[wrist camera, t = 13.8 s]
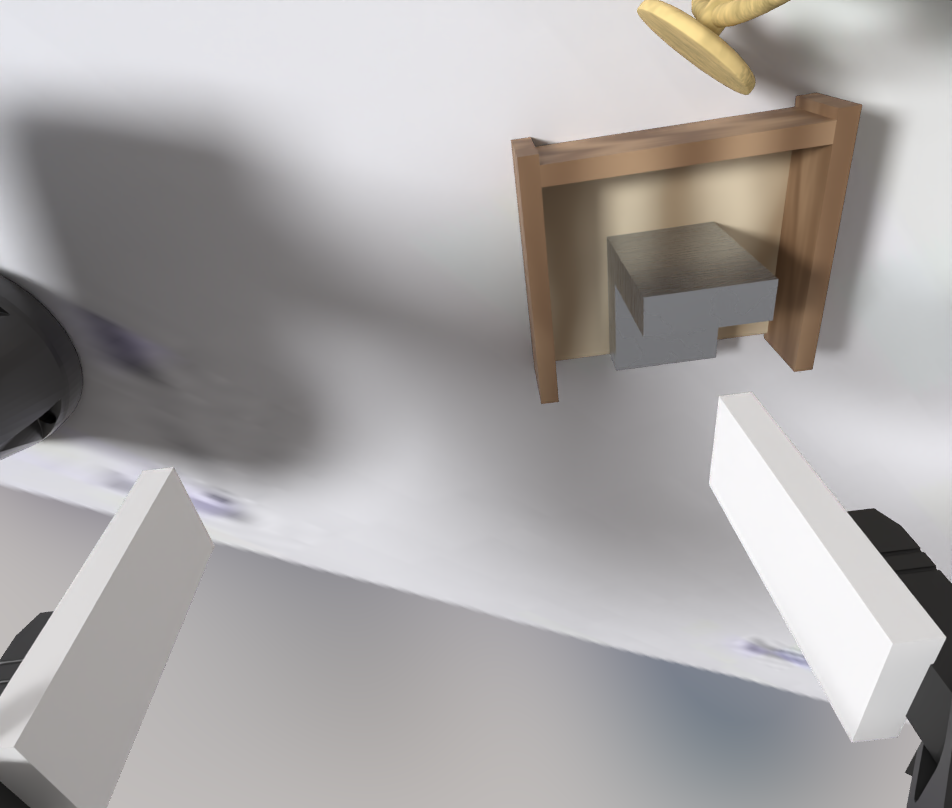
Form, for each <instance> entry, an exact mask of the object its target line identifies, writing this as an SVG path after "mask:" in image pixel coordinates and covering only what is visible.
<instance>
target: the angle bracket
mask: <svg viewBox="0 0 952 808" xmlns="http://www.w3.org/2000/svg"><path fill="white" fill-rule="evenodd" d="M607 266H608V308H609V349H610V356H611V359H612V361H613V363H614V366H615V368H616V370H623V369H631V368H638V367H646V366H654V365H661V364H669V363H677V362H685V361H692V360H700V359H708V358H715V357H716V348H717V337H718V328H719V327H727V326H734V325H742V324H749V323H757V322H764V321H772V320H773V315H774V308H775V301H776V294H777V287H778V278H777V277H776V276H774V275H773V274H772V273H771V272H770V271H769V270H768V269H767V268H765V267H764V266H763V265H762V264H761V263H760V262H759V261H757V260H756V259H755V258H754V257H753V256H752V255H751V254H750V253H748V252H747V251H746V250H745V249H744V248H743V247H742V246H740V245H739V244H738V243H737V242H736V241H735V240H734V239H733V238H731V237H730V236H729V235H728V234H727V233H726V232H725V231H723V230H722V229H721V228H720V227H719V226H718V225H717V224H716V223H714V222H706V223H699V224H692V225H685V226H678V227H671V228H664V229H658V230H651V231H644V232H637V233H630V234H623V235H616V236H609V237H607Z"/></svg>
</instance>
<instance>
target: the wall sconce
mask: <svg viewBox="0 0 952 808" xmlns="http://www.w3.org/2000/svg"><path fill="white" fill-rule="evenodd" d="M788 1H790V0H692V13H693V15H694V17H695V18H696V19H695V18H693V17H692V16H690V15H688V14H687V13H685V12H683V11H682V10H680V9H678V8H676V7H674V6H672V5H670V4H667V3H665V2H663V1H659V0H644V1H643V2H642V3H641V5H640V6H639V8H638V9H637V13H638V15H639V16H640V18H641V19H642V20H643V21H644V22H645V23H646V25H647V26H648V27H649V28H650V29H651V30H652V31H653V32H655V33H656V34H657V35H658V36H659V37H660V38H661V39H662V40H663V41H665V42H666V43H667V44H668V45H669V46H670V47H672V48H673V49H674V50H675V51H677V52H678V53H679V54H680V55H682V56H683V57H684V58H686V59H687V60H688V61H690V62H691V63H692V64H694V65H695V66H696V67H698V68H699V69H700V70H702V71H703V72H705V73H706V74H708V75H709V76H711V77H712V78H714V79H715V80H717V81H718V82H720V83H722V84H723V85H725V86H727V87H729V88H730V89H732V90H734V91H736V92H738V93H741V94H744V95H748V94H749V93H750V92H751V91H752V90H753V88H754V86H755V83H756V82H755V77H754V75H753V73H752V71H751V69H750V68H749V66H748V65H747V64H746V63H745V61H744V60H743V59H742V58H741V57H740V56H739V55H738V54H737V53H736V52H735V51H734V50H733V49H732V48H731V47H730V46H729V45H728V44H727V43H726V42H725V41H724V40H722V39H721V38H720V37H719V35H720V34H721V32H722V31H723V30H724V28H725V27H729V26H734V25H737V24H740V23H743V22H747V21H749V20H751V19H754V18H756V17H758V16H760V15H763V14H765V13H767V12H769V11H771V10H773V9H775V8H777V7H779V6H781V5H783V4H785V3H786V2H788Z"/></svg>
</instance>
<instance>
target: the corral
mask: <svg viewBox="0 0 952 808" xmlns="http://www.w3.org/2000/svg"><path fill="white" fill-rule="evenodd" d="M861 108H862V104H858V103H854V102H850V101H846V100H842V99H838V98H835V97H831V96H827V95H823V94H819V93H812V94H806V95H799V96H796V101H795V107H791V108H784V109H778V110H771V111H765V112H758V113H752V114H745V115H739V116H732V117H726V118H719V119H713V120H706V121H700V122H693V123H687V124H680V125H674V126H667V127H661V128H654V129H648V130H641V131H634V132H628V133H621V134H615V135H608V136H602V137H595V138H589V139H582V140H576V141H569V142H563V143H556V144H550V145H543V146H537V147H535V145H534V143H533V141H532V139H531V137H528V138H521V139H515V140H511V144H512V154H513V164H514V173H515V183H516V193H517V203H518V212H519V222H520V232H521V242H522V251H523V261H524V271H525V281H526V291H527V300H528V310H529V320H530V330H531V339H532V349H533V359H534V368H535V373H536V379H537V384H538V389H539V394H540V399H541V404H545V403H553V402H559V399H558V387H557V374H556V362H555V361H559V360H567V359H574V358H582V357H590V356H597V355H605V354H610V349H609V308H608V266H607V237H609V236H616V235H623V234H630V233H637V232H644V231H651V230H658V229H664V228H671V227H678V226H685V225H692V224H699V223H706V222H714V223H716V224H717V225H718V226H719V227H720V228H721V229H722V230H723V231H725V232H726V233H727V234H728V235H729V236H730V237H731V238H733V239H734V240H735V241H736V242H737V243H738V244H739V245H740V246H742V247H743V248H744V249H745V250H746V251H747V252H748V253H750V254H751V255H752V256H753V257H754V258H755V259H756V260H757V261H759V262H760V263H761V264H762V265H763V266H764V267H765V268H767V269H768V270H769V271H770V272H771V273H772V274H773V275H774V276H776V277H777V278H778V287H777V294H776V301H775V308H774V315H773V320H772V321H764V322H757V323H749V324H742V325H734V326H727V327H719V328H718V337H717V340H719V339H727V338H734V337H742V336H749V335H757V334H764V338H765V340H766V341H767V342H768V343H769V344H770V345H771V346H772V347H773V349H774V350H775V351H776V352H777V353H778V354H779V355H780V356H781V357H782V359H783V360H784V361H785V362H786V363H787V364H788V365H789V366H790V368H791V369H792V370H793V371H794V372H797V371H805V370H812V369H813V364H814V358H815V353H816V348H817V342H818V337H819V332H820V326H821V321H822V316H823V310H824V305H825V300H826V295H827V289H828V284H829V279H830V273H831V268H832V263H833V257H834V252H835V247H836V241H837V236H838V231H839V225H840V220H841V215H842V209H843V204H844V199H845V193H846V188H847V183H848V177H849V172H850V167H851V161H852V156H853V151H854V145H855V140H856V135H857V129H858V124H859V119H860V113H861Z"/></svg>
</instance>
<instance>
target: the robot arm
mask: <svg viewBox="0 0 952 808" xmlns="http://www.w3.org/2000/svg"><path fill="white" fill-rule="evenodd" d="M81 391H82V371H81V366H80V362H79V358H78V356H77V353H76V351H75V348H74V346H73V344H72V342H71V340H70V339H69V337H68V335H67V334H66V332H65V331H64V329H63V328H62V326H61V325H60V324H59V323H58V321H57V320H56V319H55V318H54V317H53V315H52V314H51V313H50V312H49V311H48V310H47V309H46V308H45V307H44V306H43V305H42V304H41V303H40V302H39V301H37V300H36V299H35V298H34V297H33V296H31V295H30V294H29V293H28V292H26V291H25V290H24V289H22V288H21V287H19V286H18V285H16V284H15V283H13V282H12V281H10V280H8V279H7V278H5V277H3V276H1V275H0V460H2V459H4V458H6V457H9V456H11V455H13V454H15V453H17V452H20V451H22V450H24V449H26V448H28V447H31V446H33V445H35V444H37V443H39V442H41V441H42V440H44V439H45V438H47V437H48V436H50V435H51V434H52V433H53V432H54V431H55V430H56V429H57V428H58V427H59V426H60V425H61V424H62V423H63V422H64V421H65V420H66V419H67V418H68V417H69V416H70V415H71V413H72V412H73V411H74V409H75V408H76V406H77V404H78V402H79V399H80V396H81ZM709 485H710V487H711V489H712V491H713V493H714V494H715V496H716V498H717V500H718V502H719V503H720V505H721V507H722V509H723V511H724V512H725V514H726V516H727V518H728V520H729V522H730V523H731V525H732V527H733V529H734V531H735V532H736V534H737V536H738V538H739V540H740V541H741V543H742V545H743V547H744V549H745V550H746V552H747V554H748V556H749V558H750V559H751V561H752V563H753V565H754V567H755V568H756V570H757V572H758V574H759V576H760V578H761V579H762V581H763V583H764V585H765V587H766V588H767V590H768V592H769V594H770V596H771V597H772V599H773V601H774V603H775V605H776V606H777V608H778V610H779V612H780V614H781V615H782V617H783V619H784V621H785V623H786V624H787V626H788V628H789V630H790V632H791V634H792V635H793V637H794V639H795V641H796V643H797V644H798V646H799V648H800V650H801V652H802V653H803V655H804V657H805V659H806V661H807V662H808V664H809V666H810V668H811V670H812V671H813V673H814V675H815V677H816V679H817V681H818V682H819V684H820V686H821V688H822V690H823V691H824V693H825V695H826V697H827V699H828V700H829V702H830V704H831V706H832V708H833V709H834V711H835V713H836V715H837V717H838V718H839V720H840V722H841V724H842V726H843V727H844V729H845V731H846V733H847V735H848V736H849V738H850V740H851V742H861V741H869V740H879V739H887V738H896V737H898V735H899V733H900V731H901V729H902V727H903V725H904V723H905V721H906V719H908V720H909V722H910V723H911V725H912V726H913V728H914V730H915V731H916V732H917V734H918V736H919V737H920V739H921V740H922V742H921V744H920V745H919V747H918V749H917V751H916V753H915V755H914V757H913V759H912V761H911V762H910V764H909V766H908V768H907V770H906V772H905V773H907V774H909V775H911V776H912V781H911V786H910V792H909V797H908V803H907V808H952V583H951V582H950V581H949V580H948V579H947V578H946V577H945V575H944V574H943V573H942V572H941V571H940V570H937V569H936V565H935V564H934V563H933V562H932V561H931V559H930V558H929V557H928V556H927V555H926V554H925V553H924V552H921V551H920V547H919V546H918V545H917V543H916V542H915V541H914V540H913V539H912V538H911V537H910V535H909V534H908V533H907V532H906V531H905V530H904V529H903V527H902V526H900V525H899V524H897V523H896V522H894V521H893V520H891V519H890V518H888V517H887V516H885V515H883V514H882V513H880V512H879V511H877V510H876V509H874V508H872V509H864V510H856V511H848V512H847V511H846V510H845V509H844V508H843V506H842V505H841V504H840V503H839V501H838V500H837V499H836V497H835V496H834V495H833V494H832V492H831V491H830V490H829V489H828V487H827V486H826V485H825V484H824V482H823V481H822V480H821V479H820V477H819V476H818V475H817V474H816V472H815V471H814V470H813V468H812V467H811V466H810V465H809V463H808V462H807V461H806V460H805V458H804V457H803V456H802V455H801V453H800V452H799V451H798V450H797V448H796V447H795V446H794V445H793V443H792V442H791V441H790V439H789V438H788V437H787V436H786V434H785V433H784V432H783V431H782V429H781V428H780V427H779V426H778V424H777V423H776V422H775V421H774V419H773V418H772V417H771V416H770V414H769V413H768V412H767V410H766V409H765V408H764V407H763V405H762V404H761V403H760V402H759V400H758V399H757V398H756V397H755V395H754V394H753V393H752V392H746V393H739V394H731V395H723V396H719V400H718V409H717V418H716V426H715V435H714V444H713V452H712V461H711V470H710V479H709ZM214 547H215V546H214V544H213V542H212V540H211V538H210V536H209V534H208V532H207V531H206V529H205V527H204V525H203V523H202V521H201V519H200V517H199V515H198V513H197V511H196V509H195V507H194V505H193V503H192V502H191V500H190V498H189V496H188V494H187V492H186V490H185V488H184V486H183V484H182V482H181V480H180V478H179V476H178V474H177V473H176V471H175V469H174V467H169V468H161V469H154V470H146V471H142V473H141V474H140V476H139V477H138V479H137V481H136V482H135V484H134V485H133V487H132V489H131V490H130V492H129V493H128V495H127V496H126V498H125V500H124V501H123V503H122V504H121V506H120V508H119V509H118V511H117V512H116V514H115V515H114V517H113V519H112V520H111V522H110V523H109V525H108V526H107V528H106V530H105V531H104V533H103V534H102V536H101V538H100V539H99V541H98V542H97V544H96V545H95V547H94V549H93V550H92V552H91V554H90V555H89V557H88V558H87V560H86V561H85V563H84V565H83V566H82V568H81V569H80V571H79V573H78V574H77V576H76V577H75V579H74V581H73V582H72V583H71V585H70V587H69V588H68V590H67V591H66V593H65V594H64V596H63V598H62V599H61V601H60V602H59V604H58V606H57V607H56V609H55V610H54V611H52V612H44V613H40V614H39V615H38V616H36V618H34V620H32V621H31V622H30V623H29V624H28V625H27V626H26V627H25V628H24V629H23V630H22V631H21V632H20V633H19V634H17V635H16V636H15V638H14V640H13V641H12V642H11V644H10V646H9V647H8V648H7V650H6V651H5V653H4V654H3V656H2V658H1V659H0V808H107V806H108V804H109V801H110V799H111V796H112V794H113V791H114V789H115V786H116V784H117V782H118V779H119V777H120V774H121V772H122V770H123V767H124V765H125V762H126V760H127V758H128V755H129V753H130V750H131V748H132V745H133V743H134V741H135V738H136V736H137V733H138V731H139V729H140V726H141V723H142V721H143V719H144V716H145V714H146V711H147V709H148V707H149V704H150V702H151V699H152V697H153V694H154V692H155V690H156V687H157V685H158V683H159V680H160V678H161V675H162V673H163V670H164V668H165V666H166V663H167V661H168V658H169V656H170V653H171V651H172V648H173V646H174V644H175V641H176V639H177V636H178V634H179V632H180V629H181V627H182V624H183V622H184V620H185V617H186V615H187V612H188V610H189V607H190V605H191V603H192V600H193V598H194V595H195V593H196V590H197V588H198V586H199V583H200V581H201V578H202V576H203V574H204V571H205V569H206V566H207V564H208V561H209V559H210V556H211V554H212V552H213V549H214Z"/></svg>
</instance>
